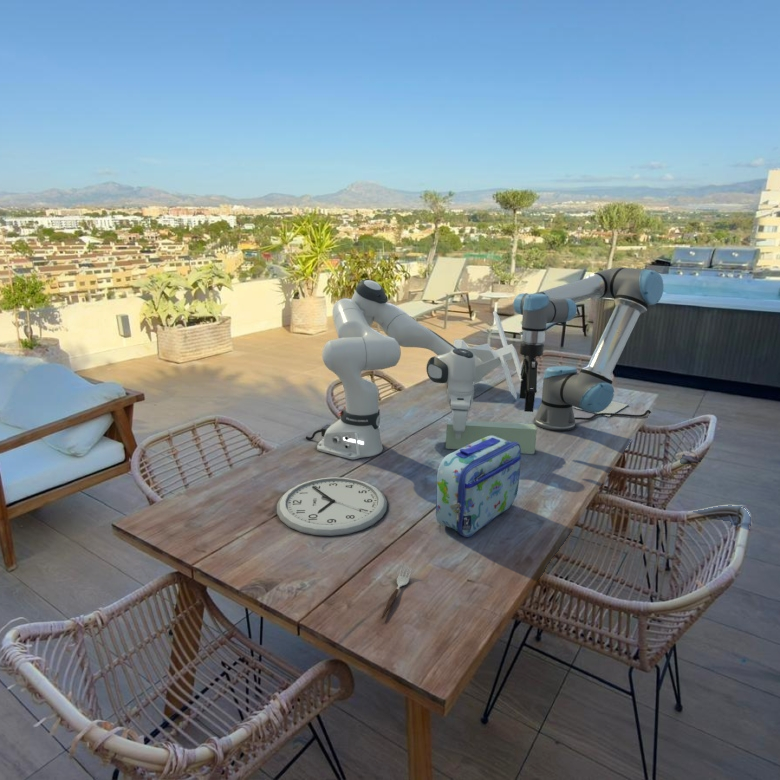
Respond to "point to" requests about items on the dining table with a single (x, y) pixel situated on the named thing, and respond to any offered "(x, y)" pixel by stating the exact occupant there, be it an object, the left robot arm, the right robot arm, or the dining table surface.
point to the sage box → (493, 434)
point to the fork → (401, 582)
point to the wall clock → (331, 506)
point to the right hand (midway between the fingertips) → (525, 404)
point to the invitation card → (611, 408)
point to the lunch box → (477, 484)
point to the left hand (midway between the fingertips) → (457, 434)
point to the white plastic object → (493, 357)
